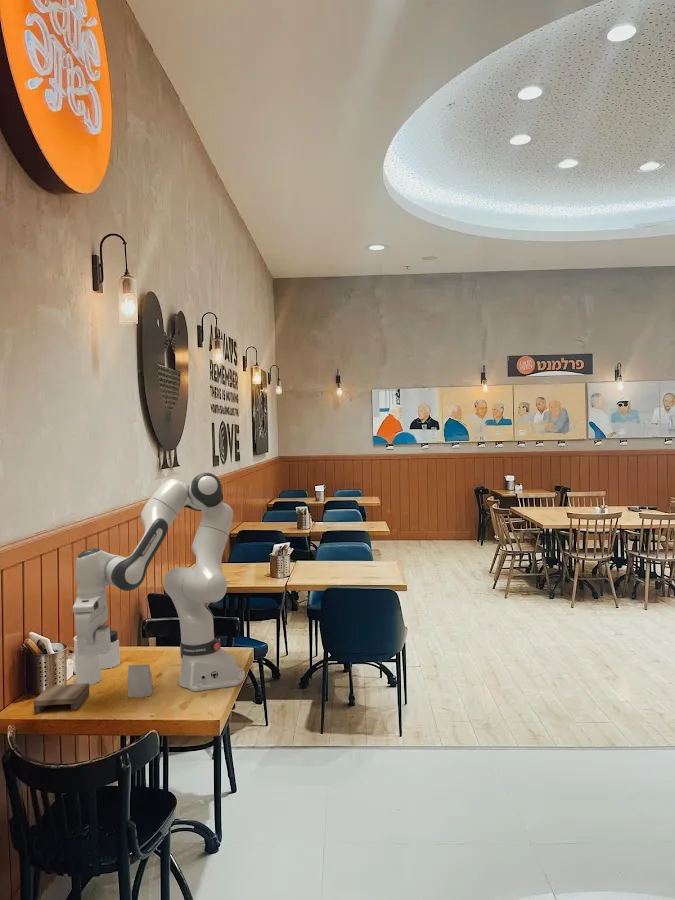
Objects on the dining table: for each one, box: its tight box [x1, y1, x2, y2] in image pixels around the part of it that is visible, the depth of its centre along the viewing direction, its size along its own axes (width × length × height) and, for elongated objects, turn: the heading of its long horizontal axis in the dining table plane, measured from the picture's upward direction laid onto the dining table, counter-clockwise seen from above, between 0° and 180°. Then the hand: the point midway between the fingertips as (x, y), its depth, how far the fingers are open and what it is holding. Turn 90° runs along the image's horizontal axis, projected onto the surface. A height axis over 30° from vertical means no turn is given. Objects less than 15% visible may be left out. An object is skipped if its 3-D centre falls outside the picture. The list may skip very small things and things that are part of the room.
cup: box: [73, 635, 102, 686], centre depth 225 cm, size 8×8×16 cm
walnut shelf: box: [33, 683, 91, 714], centre depth 207 cm, size 13×12×4 cm
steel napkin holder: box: [76, 624, 111, 656], centre depth 207 cm, size 9×5×8 cm, turn 92°
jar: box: [100, 629, 121, 670], centre depth 241 cm, size 9×8×12 cm
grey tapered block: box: [127, 664, 153, 699], centre depth 211 cm, size 4×7×10 cm, turn 91°
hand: (94, 642), depth 207 cm, fingers closed on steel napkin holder, 4 cm apart
